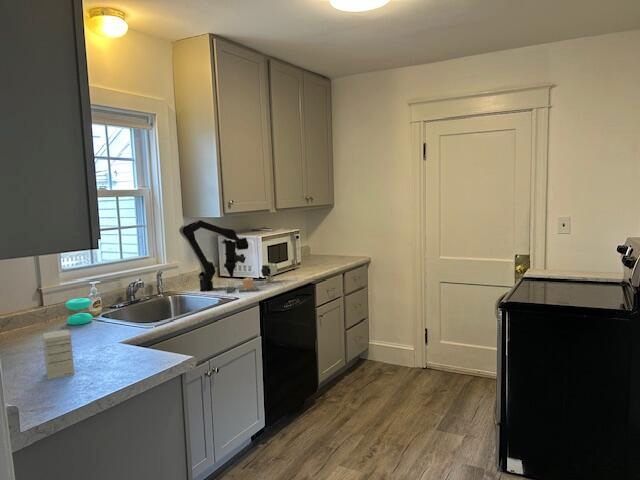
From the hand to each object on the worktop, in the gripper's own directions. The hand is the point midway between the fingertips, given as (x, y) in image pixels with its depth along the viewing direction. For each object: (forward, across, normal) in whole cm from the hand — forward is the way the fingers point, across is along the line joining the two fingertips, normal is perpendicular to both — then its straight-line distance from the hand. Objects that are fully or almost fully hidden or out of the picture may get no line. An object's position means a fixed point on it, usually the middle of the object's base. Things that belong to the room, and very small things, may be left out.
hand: (231, 277), depth 276 cm
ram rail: (+5, -12, 0) cm, 13 cm away
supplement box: (+6, -129, +41) cm, 135 cm away
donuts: (+6, -65, +60) cm, 89 cm away
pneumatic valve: (+5, +6, -22) cm, 24 cm away
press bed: (+5, -15, -10) cm, 19 cm away
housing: (+4, -15, -10) cm, 18 cm away
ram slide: (+4, -7, 0) cm, 8 cm away
